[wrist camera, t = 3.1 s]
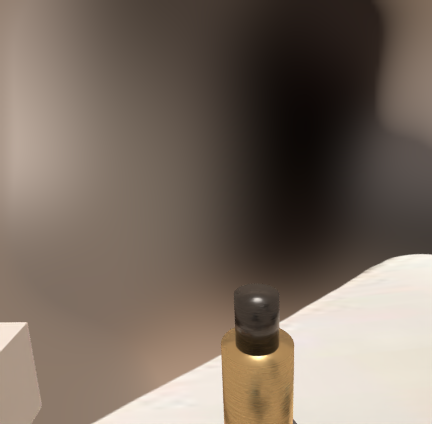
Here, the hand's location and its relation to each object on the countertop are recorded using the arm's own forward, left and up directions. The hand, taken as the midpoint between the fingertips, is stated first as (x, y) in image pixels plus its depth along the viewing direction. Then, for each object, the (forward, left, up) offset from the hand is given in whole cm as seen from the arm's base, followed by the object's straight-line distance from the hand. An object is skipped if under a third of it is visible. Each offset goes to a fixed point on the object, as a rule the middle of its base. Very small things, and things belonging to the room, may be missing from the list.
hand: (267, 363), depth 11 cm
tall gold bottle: (+9, -5, -21) cm, 23 cm away
